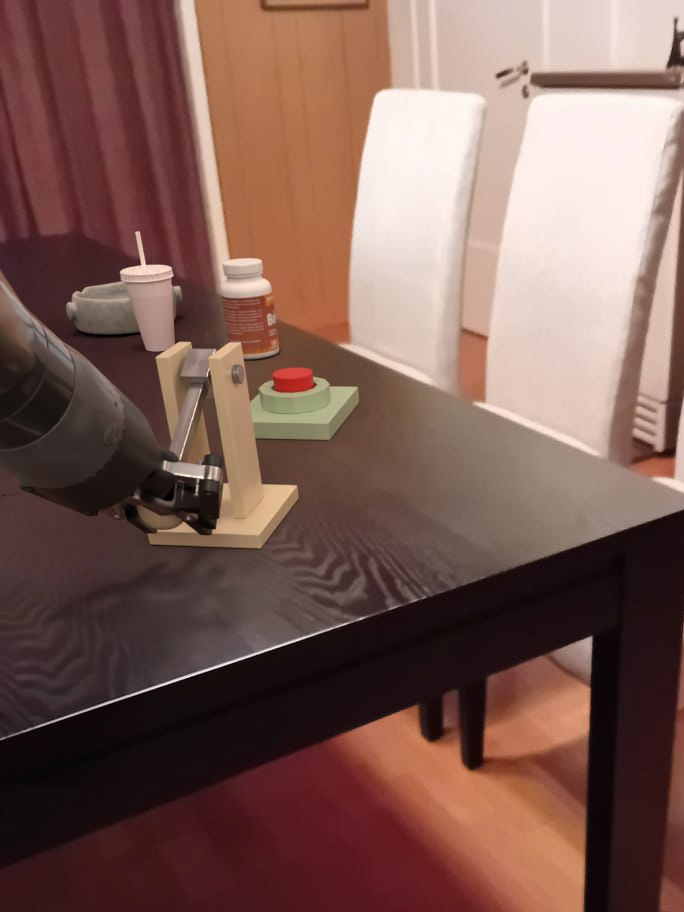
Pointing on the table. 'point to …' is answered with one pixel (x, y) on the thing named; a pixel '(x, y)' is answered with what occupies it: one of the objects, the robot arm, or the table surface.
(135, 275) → the smoothie
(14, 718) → the table surface
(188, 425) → the switch lever
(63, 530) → the table surface
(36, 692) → the table surface
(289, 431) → the stop panel
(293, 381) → the stop button
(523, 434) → the table surface
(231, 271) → the pill bottle
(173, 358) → the switch
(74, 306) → the dish
